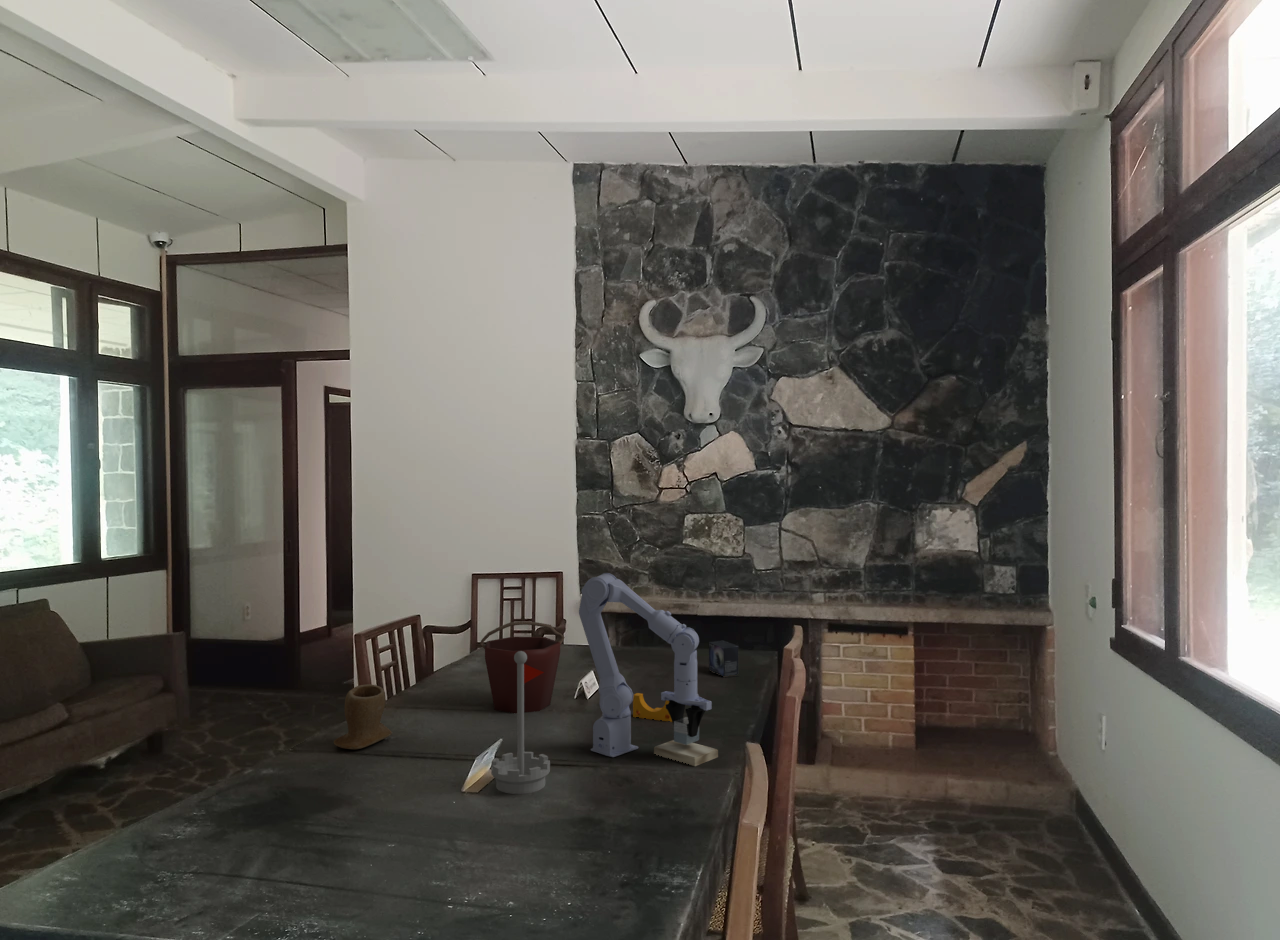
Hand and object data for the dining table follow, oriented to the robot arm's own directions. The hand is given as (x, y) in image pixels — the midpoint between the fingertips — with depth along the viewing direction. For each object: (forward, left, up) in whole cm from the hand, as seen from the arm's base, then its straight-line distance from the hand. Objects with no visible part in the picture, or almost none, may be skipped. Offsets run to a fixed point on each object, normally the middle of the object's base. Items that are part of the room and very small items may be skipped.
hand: (685, 734), depth 215 cm
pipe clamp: (+20, +28, -6) cm, 34 cm away
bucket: (+2, +65, -6) cm, 65 cm away
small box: (+75, +45, -6) cm, 88 cm away
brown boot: (-48, +67, -6) cm, 83 cm away
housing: (0, 0, -2) cm, 2 cm away
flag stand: (-40, +15, -6) cm, 43 cm away
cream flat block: (0, 0, -5) cm, 5 cm away
